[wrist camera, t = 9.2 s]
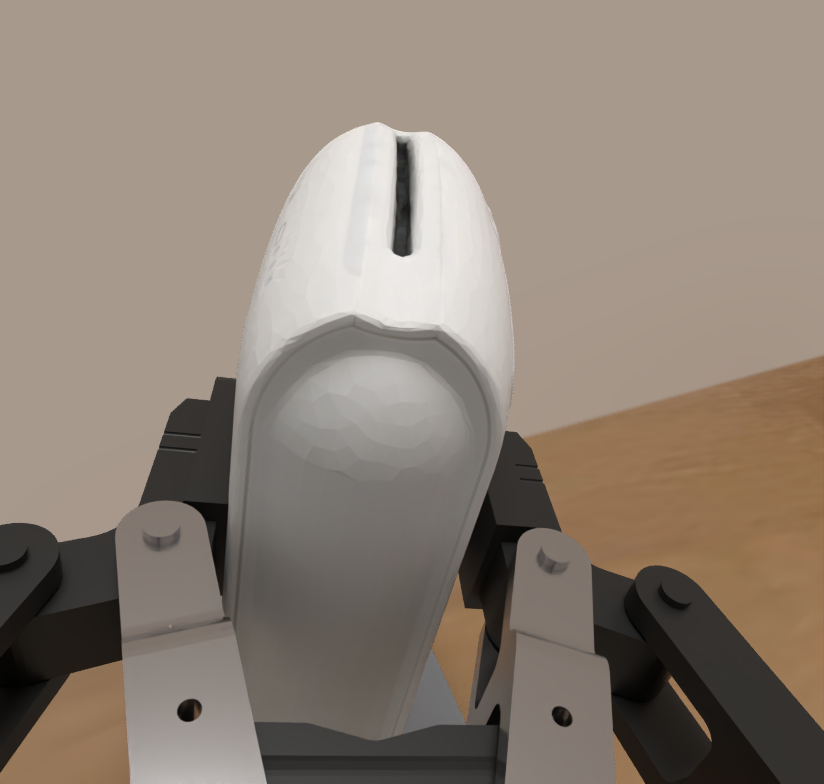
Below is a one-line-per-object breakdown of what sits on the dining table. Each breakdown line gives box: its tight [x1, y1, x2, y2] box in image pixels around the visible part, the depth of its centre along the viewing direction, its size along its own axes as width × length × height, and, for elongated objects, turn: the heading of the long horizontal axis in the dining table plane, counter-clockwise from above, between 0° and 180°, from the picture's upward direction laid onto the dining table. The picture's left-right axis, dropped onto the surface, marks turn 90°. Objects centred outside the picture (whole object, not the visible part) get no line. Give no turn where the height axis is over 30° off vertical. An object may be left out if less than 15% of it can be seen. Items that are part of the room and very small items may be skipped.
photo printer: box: [222, 122, 515, 741], centre depth 14 cm, size 10×4×12 cm, turn 1°
